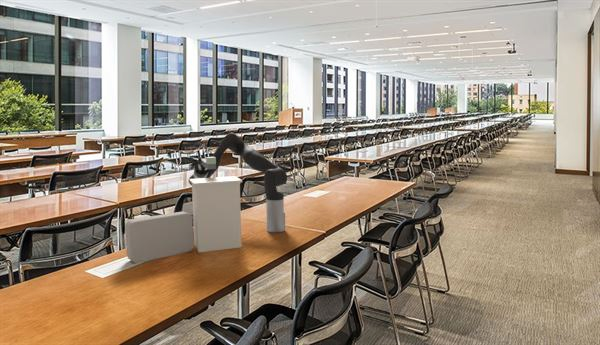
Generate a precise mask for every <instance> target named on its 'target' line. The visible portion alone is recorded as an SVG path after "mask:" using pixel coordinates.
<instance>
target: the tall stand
mask: <svg viewBox="0 0 600 345" xmlns="http://www.w3.org/2000/svg"><path fill="white" fill-rule="evenodd" d="M189 181H190V182H191V183H192V185H191V191H192V192H191V195H192V196H191V197H192V224H193V246H194V247H195V249H196V251H197V252H198V253H207V252H213V251H222V250H229V249H230V250H231V249H240V248H242V247H243V246H242V216H241V214H242V213H241V183H243V179H241V178H239V177H238V176H236V175H235V176H234V175H232V176H231V175H230V176H217V177H210V178H197V179H189V178H188V182H189Z"/></svg>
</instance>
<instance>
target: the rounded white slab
mask: <svg viewBox="0 0 600 345" xmlns="http://www.w3.org/2000/svg"><path fill="white" fill-rule="evenodd" d="M124 228H125V245H126V246H125V247H126V256H127V258H128V260H130V261H131V262H132V263H135V264H138V263H143V262H147V261H152V260H153V261H154V260H157V259H161V258H165V257H170V256H176V255H180V254H184V253H189V252H192V249H194V223H193V215H192V214H190V213H188V212H186V211H178V212H177V211H176V212H170V213H165V214H158V215H152V216H146V217H145V216H144V217H140V218H133V219H129V220H127V221H126V223H125V225H124Z"/></svg>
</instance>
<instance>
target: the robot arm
mask: <svg viewBox="0 0 600 345" xmlns="http://www.w3.org/2000/svg"><path fill="white" fill-rule="evenodd" d="M228 150H230V152H233V153H234V154H236V155H237V156H239V157H241V159H242V160H243V161H244V163H245V164H246V165H248V167H250V168H251V169H253V170H255V171H258V172H261V173H264V175H263V184H264V194H265V197H266V199H265V200H266V202H265V203H266V204H265V206H266V231H267V232H268V233H281V232H284V231H285V232H286V213H285V208H284V207H285V206H284V205H285V202H284V201H285V200H284V199H285V198H284V197H285V196H284V193H283V192H280V191H278V190H277V187H278V186H279V187H280V186H283V185H285V184H287V181H288V175H287V172H286V171H285V170H284V169H283V168H282V167H280V166H278V165H276V164H275V163H273V162H272V161H271V160H269V159H268V158H267V157H265V156H264V155H263V154H261V153H260V152H259V151H258V150H256V149H255V148H251V147H250V146H249V145H248V144H247V143H246V142H244V140H243V139H242V138H241V137H240V136H238V135H237V134H236V133H234V132H229V133H227V134H226V135H225V136H224V137H223V138H222V140H221V141H220V143H219V145H218V147H217V148H216V149H215V151H214V152H213V155H212V156H211V157H216V169H207V168H205V167H204V166H202V165H201V159H202V157H199V158H198V159H197V160H195V161H194V160H193V162H191V164H189V169H190V170H191V171H192V170H194V171H193V174H192V175H191V176H190V177H189V178H188V184H190V186H192V183H191V182H190V181H189V179H197V178H212V176H213V175H214V174H215V172H217V171H218V169H219V167H220V165H221V163H222V158H223V155H224V153H225V152H226V151H228Z"/></svg>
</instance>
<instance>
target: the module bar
mask: <svg viewBox="0 0 600 345" xmlns="http://www.w3.org/2000/svg"><path fill="white" fill-rule="evenodd" d="M201 165H202V166H204V167H205V168H207V169H216V157H212V156H206V157H205V158H201Z"/></svg>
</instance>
